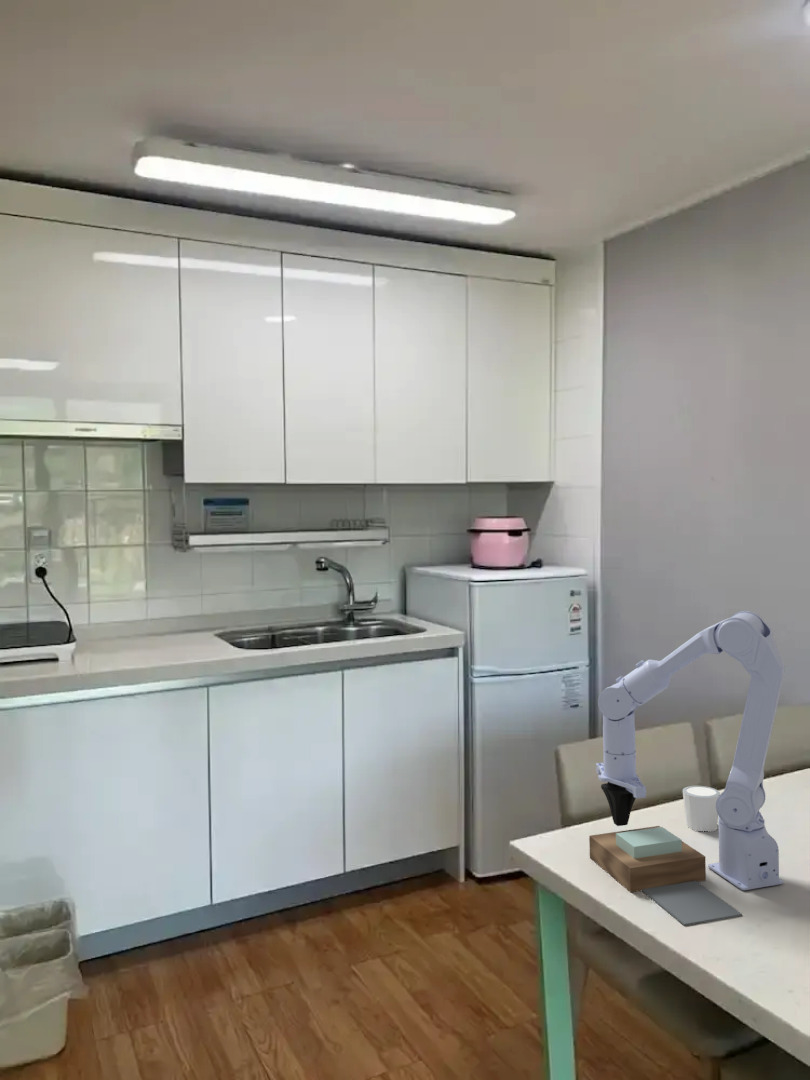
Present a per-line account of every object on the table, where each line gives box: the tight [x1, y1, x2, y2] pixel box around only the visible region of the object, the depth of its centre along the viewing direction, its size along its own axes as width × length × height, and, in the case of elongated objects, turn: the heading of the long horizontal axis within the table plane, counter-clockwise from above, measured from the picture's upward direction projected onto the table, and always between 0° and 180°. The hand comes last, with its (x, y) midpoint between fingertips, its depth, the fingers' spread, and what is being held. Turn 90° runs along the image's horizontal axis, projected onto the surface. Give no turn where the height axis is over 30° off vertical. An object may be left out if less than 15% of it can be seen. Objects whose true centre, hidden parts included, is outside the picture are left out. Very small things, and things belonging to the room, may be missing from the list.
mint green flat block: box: [616, 826, 683, 859], centre depth 142 cm, size 6×9×2 cm, turn 105°
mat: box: [641, 881, 743, 927], centre depth 131 cm, size 12×10×1 cm
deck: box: [588, 825, 707, 893], centre depth 143 cm, size 14×14×4 cm
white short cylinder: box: [682, 785, 721, 833], centre depth 161 cm, size 7×7×7 cm
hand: (620, 824), depth 151 cm, fingers closed
